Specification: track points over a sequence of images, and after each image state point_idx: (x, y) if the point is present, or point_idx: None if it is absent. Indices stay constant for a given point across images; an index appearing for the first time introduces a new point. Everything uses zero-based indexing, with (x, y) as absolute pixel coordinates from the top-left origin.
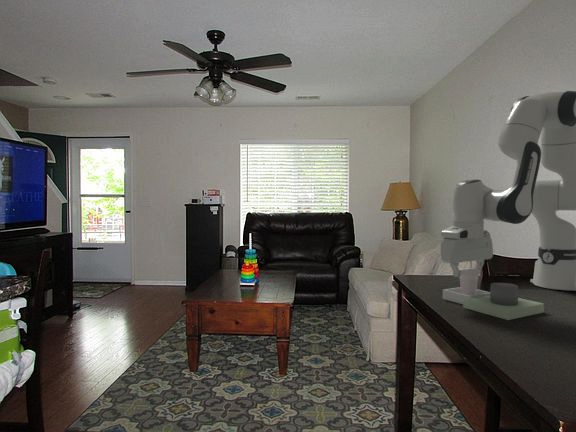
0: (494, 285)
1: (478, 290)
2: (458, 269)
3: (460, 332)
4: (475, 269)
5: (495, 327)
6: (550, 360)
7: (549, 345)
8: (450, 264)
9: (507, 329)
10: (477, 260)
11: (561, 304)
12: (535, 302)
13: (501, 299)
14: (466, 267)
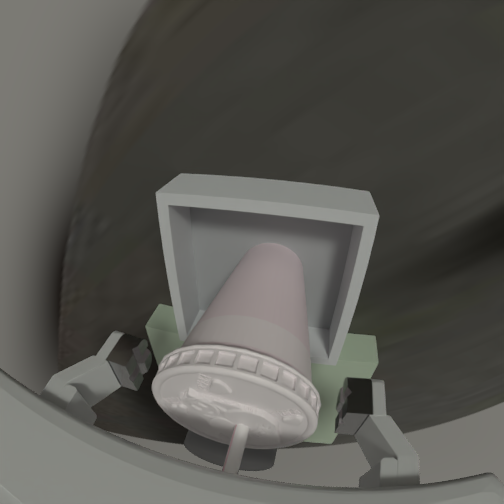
0: (190, 443)
1: (342, 312)
2: (108, 393)
3: (58, 356)
4: (258, 438)
5: (125, 388)
6: (112, 425)
7: (145, 430)
8: (50, 381)
9: (138, 400)
10: (371, 481)
11: (456, 410)
12: (327, 436)
13: None
14: (285, 396)
